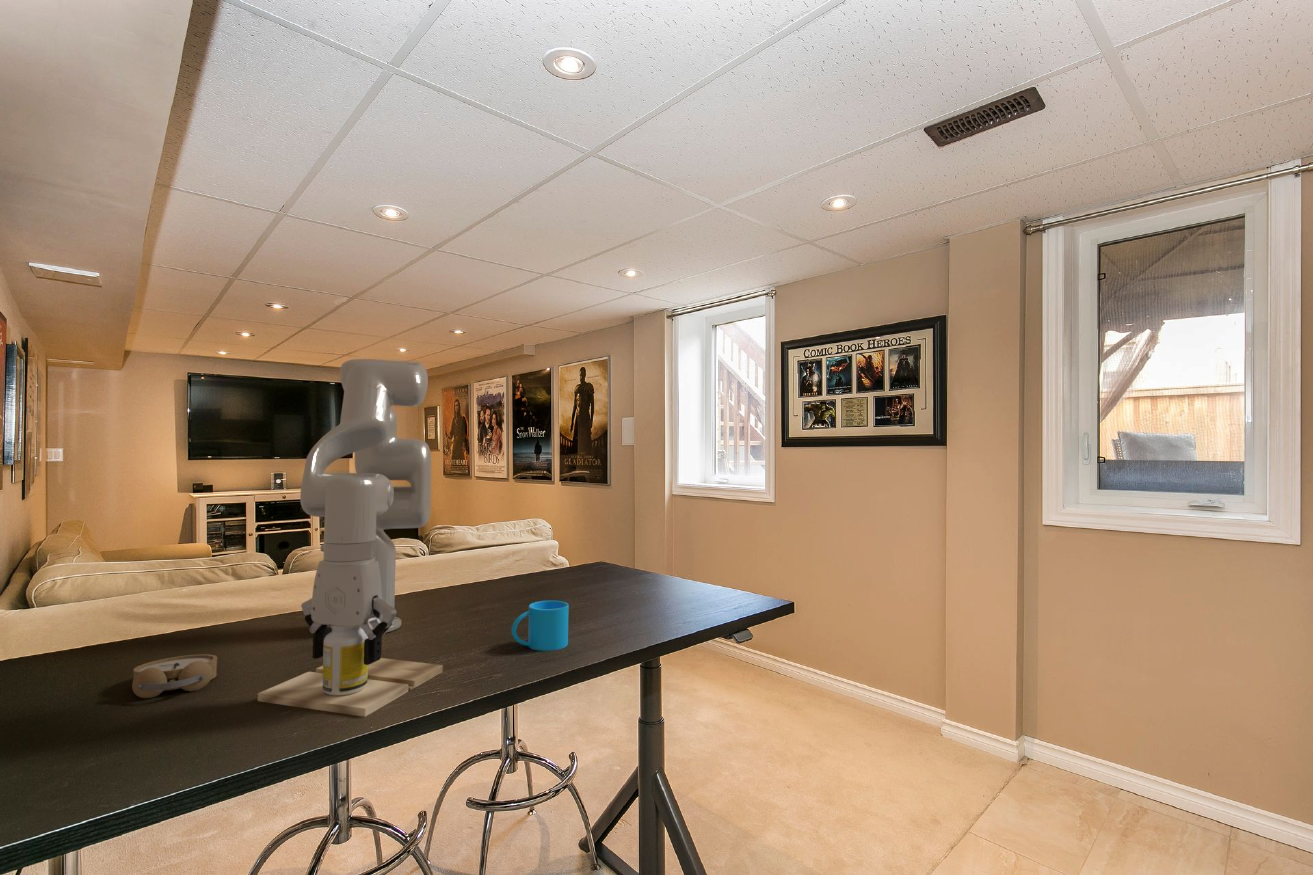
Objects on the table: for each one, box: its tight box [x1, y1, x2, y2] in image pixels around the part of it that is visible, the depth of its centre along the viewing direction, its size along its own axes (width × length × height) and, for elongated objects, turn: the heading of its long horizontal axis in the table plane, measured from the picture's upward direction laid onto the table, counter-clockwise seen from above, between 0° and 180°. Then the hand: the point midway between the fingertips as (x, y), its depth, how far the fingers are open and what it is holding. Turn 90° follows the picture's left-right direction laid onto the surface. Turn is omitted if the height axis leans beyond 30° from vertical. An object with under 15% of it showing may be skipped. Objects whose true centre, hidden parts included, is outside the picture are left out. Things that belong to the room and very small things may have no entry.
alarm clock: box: [131, 653, 218, 699], centre depth 102 cm, size 11×5×15 cm
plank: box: [257, 671, 409, 717], centre depth 99 cm, size 20×10×1 cm, turn 75°
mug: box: [511, 600, 570, 652], centre depth 126 cm, size 12×8×8 cm
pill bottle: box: [322, 626, 368, 696], centre depth 99 cm, size 6×6×12 cm
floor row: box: [315, 657, 444, 691], centre depth 108 cm, size 20×9×1 cm, turn 75°
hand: (346, 658), depth 98 cm, fingers open, 9 cm apart
